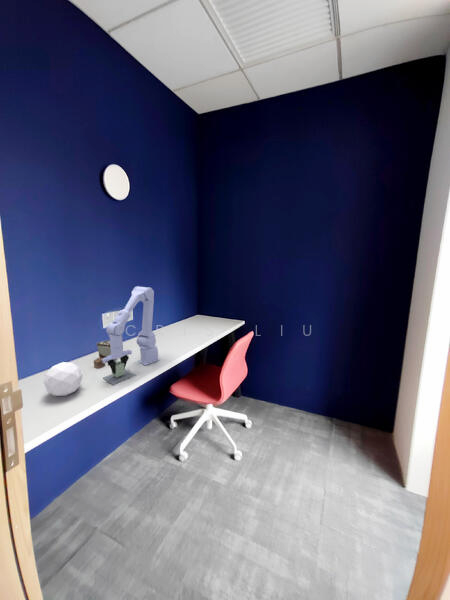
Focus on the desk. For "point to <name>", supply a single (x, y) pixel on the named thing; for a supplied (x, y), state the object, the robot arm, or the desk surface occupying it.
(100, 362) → the walnut cube
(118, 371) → the green block
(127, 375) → the mat
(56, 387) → the geometric shape
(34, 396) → the desk surface
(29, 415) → the desk surface
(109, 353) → the food container
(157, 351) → the robot arm
